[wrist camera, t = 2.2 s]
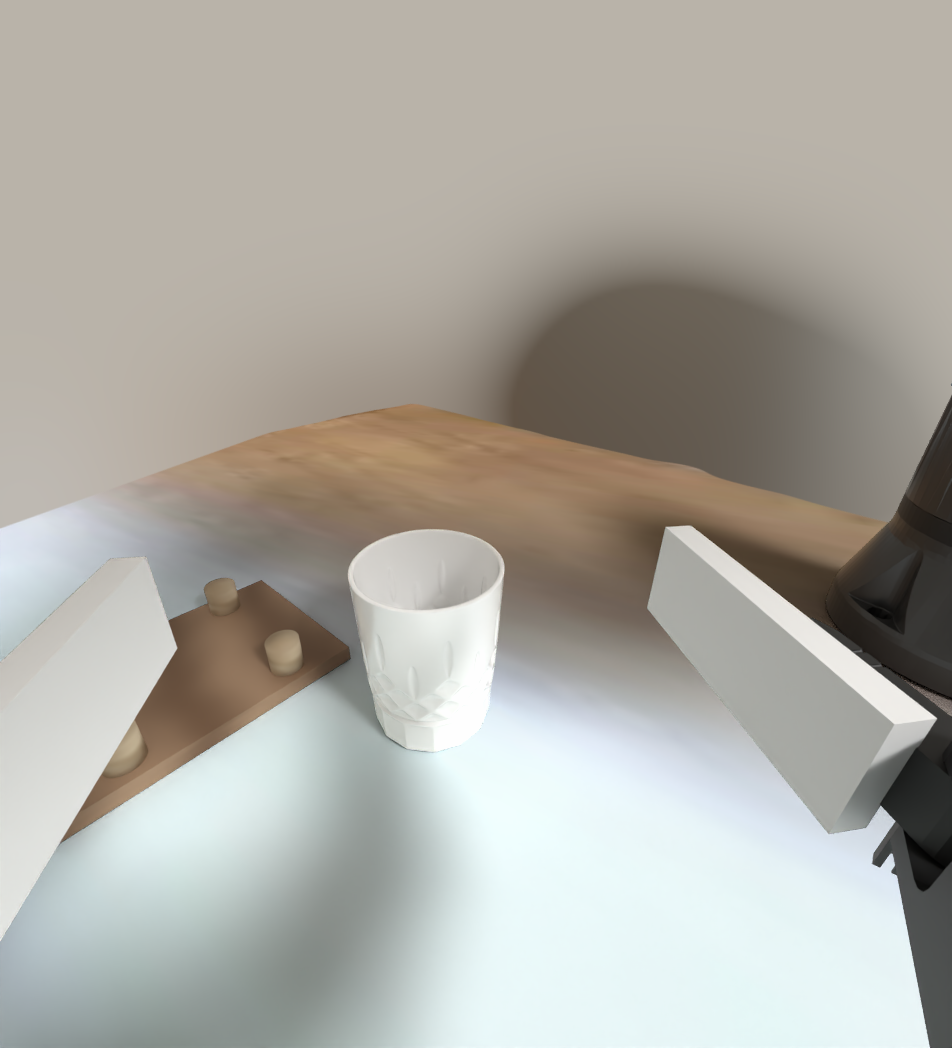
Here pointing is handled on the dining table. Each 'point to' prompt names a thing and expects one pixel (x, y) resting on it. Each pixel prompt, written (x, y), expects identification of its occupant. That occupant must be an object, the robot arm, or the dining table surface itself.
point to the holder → (214, 685)
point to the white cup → (428, 632)
